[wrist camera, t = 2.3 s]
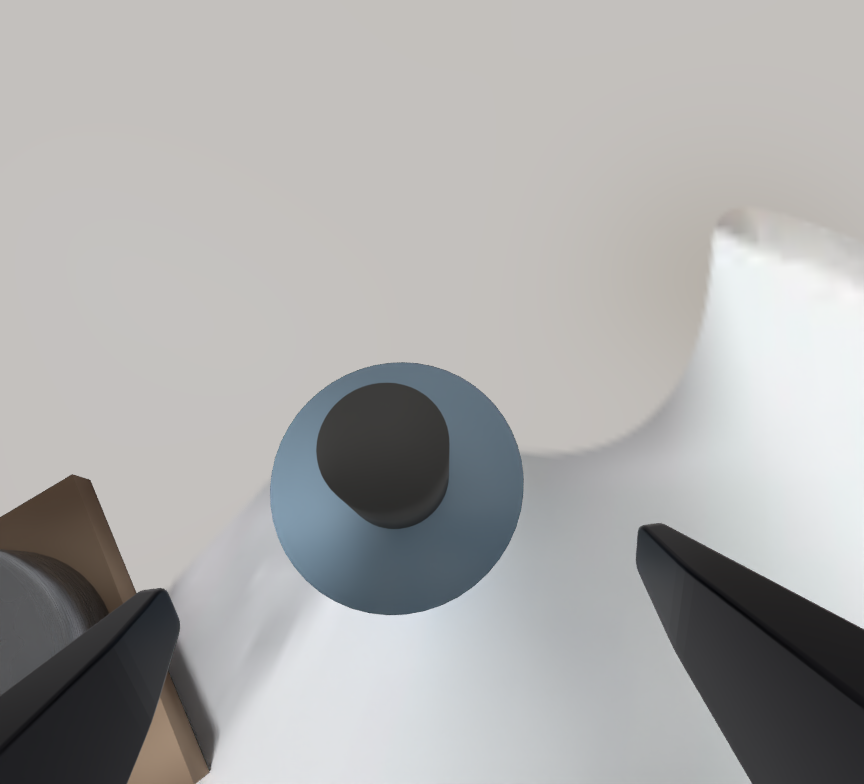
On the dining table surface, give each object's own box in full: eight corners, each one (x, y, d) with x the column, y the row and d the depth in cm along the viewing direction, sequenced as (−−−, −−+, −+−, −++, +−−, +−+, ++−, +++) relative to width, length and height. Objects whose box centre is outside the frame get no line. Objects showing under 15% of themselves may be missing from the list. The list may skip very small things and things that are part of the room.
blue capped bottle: (509, 549, 17) (614, 476, 6) (406, 631, 16) (325, 710, 5) (435, 451, 19) (420, 263, 8) (338, 520, 18) (170, 411, 7)
